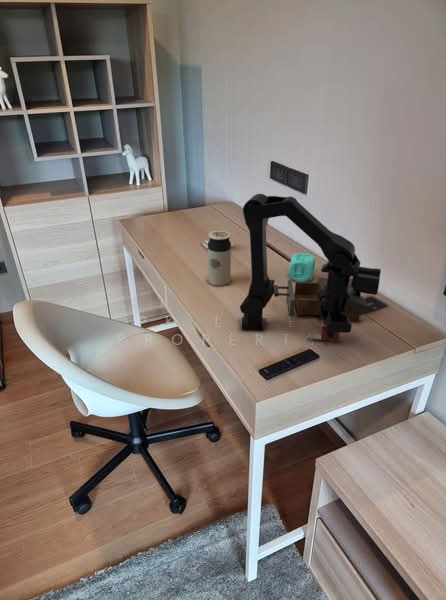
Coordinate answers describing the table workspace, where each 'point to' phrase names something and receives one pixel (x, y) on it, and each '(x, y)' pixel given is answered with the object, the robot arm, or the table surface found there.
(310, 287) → the drawer
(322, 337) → the red usb flash drive
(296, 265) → the decorative dice
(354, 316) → the cabinet
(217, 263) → the travel mug
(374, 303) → the solid state drive
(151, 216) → the table surface
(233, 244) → the lettered band ring
